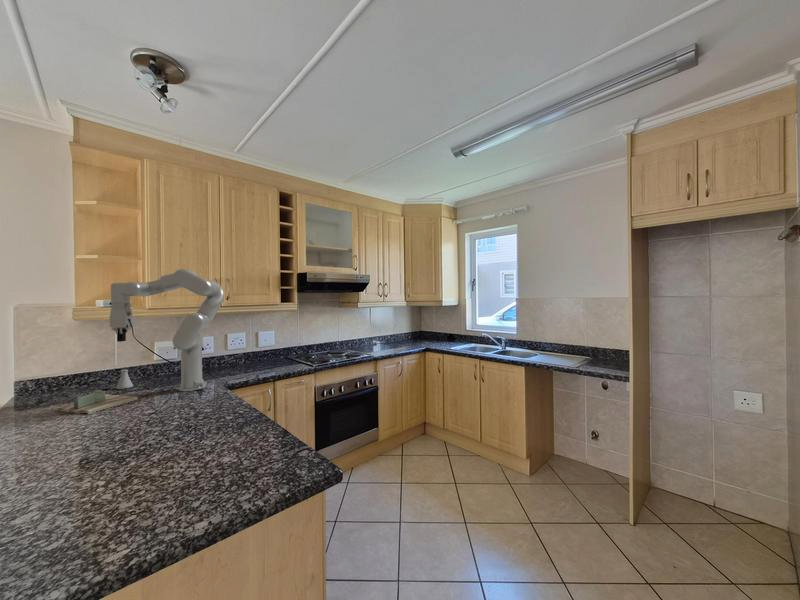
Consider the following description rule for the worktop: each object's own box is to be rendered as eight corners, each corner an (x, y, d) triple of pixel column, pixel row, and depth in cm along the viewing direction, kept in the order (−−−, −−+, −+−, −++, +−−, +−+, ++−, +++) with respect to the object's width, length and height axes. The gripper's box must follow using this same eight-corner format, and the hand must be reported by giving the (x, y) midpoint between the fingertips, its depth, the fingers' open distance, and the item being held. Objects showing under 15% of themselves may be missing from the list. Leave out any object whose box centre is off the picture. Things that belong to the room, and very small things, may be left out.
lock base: (137, 399, 157) (137, 396, 157) (88, 414, 137) (88, 410, 137) (106, 397, 162) (106, 394, 162) (55, 411, 142) (55, 407, 142)
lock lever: (98, 399, 152) (98, 389, 152) (108, 399, 152) (108, 389, 152) (69, 408, 139) (69, 397, 139) (79, 408, 139) (79, 397, 139)
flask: (123, 389, 176) (122, 371, 176) (112, 389, 177) (112, 371, 177) (136, 386, 183) (136, 368, 183) (126, 385, 184) (126, 368, 184)
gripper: (139, 305, 172) (140, 340, 172) (116, 306, 174) (116, 340, 175) (125, 306, 165) (126, 342, 165) (101, 306, 167) (102, 342, 167)
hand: (121, 341), depth 170 cm, fingers closed
